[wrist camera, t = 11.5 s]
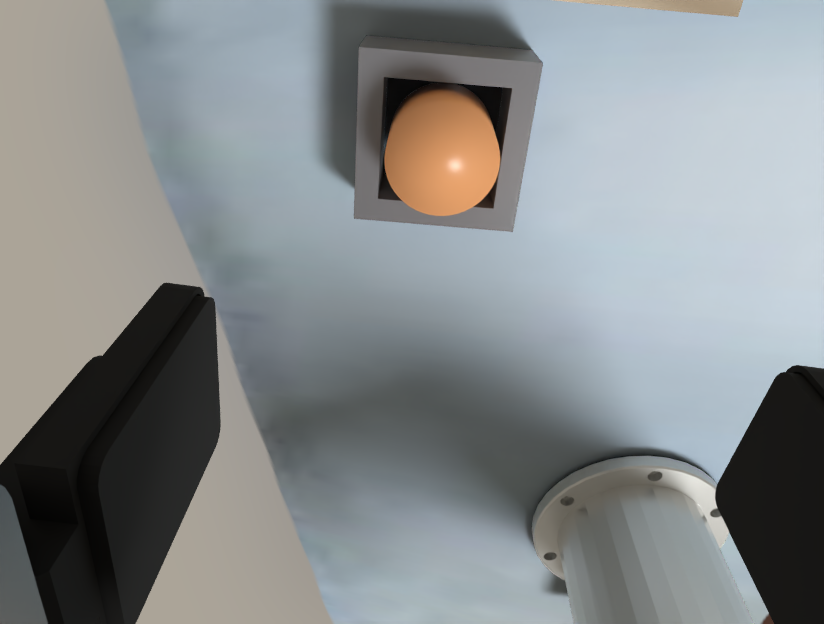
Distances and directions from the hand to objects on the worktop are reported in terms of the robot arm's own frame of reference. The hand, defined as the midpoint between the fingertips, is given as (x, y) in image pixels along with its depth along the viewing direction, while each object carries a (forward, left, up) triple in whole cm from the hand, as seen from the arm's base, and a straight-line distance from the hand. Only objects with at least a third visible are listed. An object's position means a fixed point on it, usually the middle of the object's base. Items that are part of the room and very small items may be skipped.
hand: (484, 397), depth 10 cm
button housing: (-1, +1, -20) cm, 20 cm away
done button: (-1, +1, -18) cm, 18 cm away
